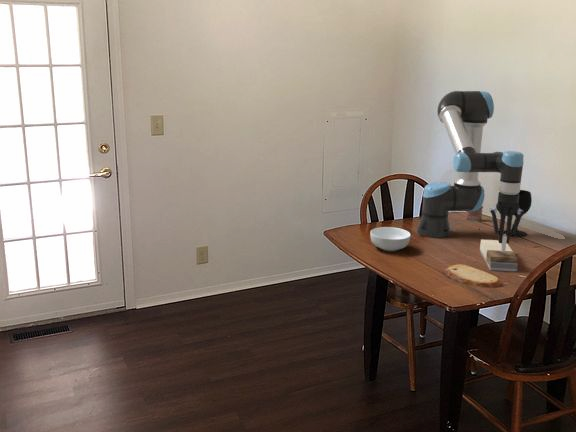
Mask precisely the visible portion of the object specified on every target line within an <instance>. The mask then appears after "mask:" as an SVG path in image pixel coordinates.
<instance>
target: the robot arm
mask: <svg viewBox="0 0 576 432" xmlns="http://www.w3.org/2000/svg"><path fill="white" fill-rule="evenodd" d="M494 111H495V103H494V99H493V97H492V95H491V94H490V92H488V91H481V90H454V91H453V90H452V91H450V92H448V93H446V94H445V95H444V96H443V97H442V98H441V100H440V101H439V103H438V105H437V117H438V118H439V121H440V122H441V123H442V124H443V126H444V128H445V130H446V132H447V133H446V134H447V135H448V138H449V140H450V144H451V146H452V149H453V151H454V152H455V154H454V156H453V160H452V164H453V169H454V170H455V171H456V173H458V175H457V176H458V177H457V178H456V179H455V180H454V183H453V185H451V183H449V182H448V181H447V182H444V181H443V182H442V181H437V182H431V183H428V184H426V185H425V186H424V190H423V194H422V197H423V200H422V210H421V211H422V212H421V217H420V220H419V222H418V224H417V226H416V233H417V234H419V235H421V236H423V237H426V238H427V237H428V238H435V239H436V238H439V239H440V238H441V239H442V238H447V237H450V236H451V234H452V233H451V232H452V231H451V225H450V222H449V212H466V211H467V212H470V211H477V210H479V209H480V208H481V206H483V204H484V200H485V189H484V187H483V186H482V184H481V183H482V182H480V181H479V179H478V178H479V173H499V174H500V176H499V177H500V180H499V185H498V186H499V188H498V191H499V192H498V195H497V203H496V205H495V207H493V208H489V212H490V213H491V218H492V224H493V225H492V226H493V231H494V233H495V234H497V235H498V239H497V240H498V242H499V243H501V245H500V251H501V252H505V250H506V243H507V244H508V245H509V243H510V237H512V236H511V235H514V234H515V233H516V230H517V228H518V227H519V224H520V223H521V219H522V217H523V216H524V215H525V214H526V213H525V212H524V211H523V210H521V209H520V208H519V205H518V203H519V192H520V190H521V182H522V176H523V175H522V174H523V170H524V169H523V167H524V154H523V153H522V152H521V151H514V150H513V151H512V150H509V151H504V152H502V151H493V152H481V151H482V150H481V149H482V143H483V132H484V131H483V130H484V126H486V125H487V124H488V120H489V119H491V118H492V117H493V116H494ZM497 211H498V213H499V216H500V220H499V225H498V220H497ZM517 211H518V212H517ZM516 212H517V216H516V217H515V219H514V222H512V221H513V217H514V214H515V213H516ZM505 221H506V223H505ZM512 223H513V225H512ZM505 224H506V228H505ZM505 230H506V234H505V233H504V231H505Z"/></svg>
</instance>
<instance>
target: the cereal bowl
mask: <svg viewBox="0 0 576 432" xmlns="http://www.w3.org/2000/svg"><path fill="white" fill-rule="evenodd" d="M369 233H370V234H369V236H370V241H371V243H372V244H373V245H374V246H376V248H379V249H380V250H382V249H383V250H382V251H385V250H386V252H397V251H399V250H401V249H404V248H406V247H407V246H408V245H409V243H410V241H411V233H410V232H409V231H408V230H405V229H403V228H401V227H400V228H399V227H392V226H382V227H376V228H373V229H371V230H370V232H369Z"/></svg>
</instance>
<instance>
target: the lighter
mask: <svg viewBox="0 0 576 432" xmlns="http://www.w3.org/2000/svg"><path fill="white" fill-rule="evenodd" d="M483 208H484V206H483V205H482V206H481V208H480V209H479V210H477V211H470V212H467V211H465V216H464V221H467V222H482V220H483V219H482V218H483V217H482V216H483Z"/></svg>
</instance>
